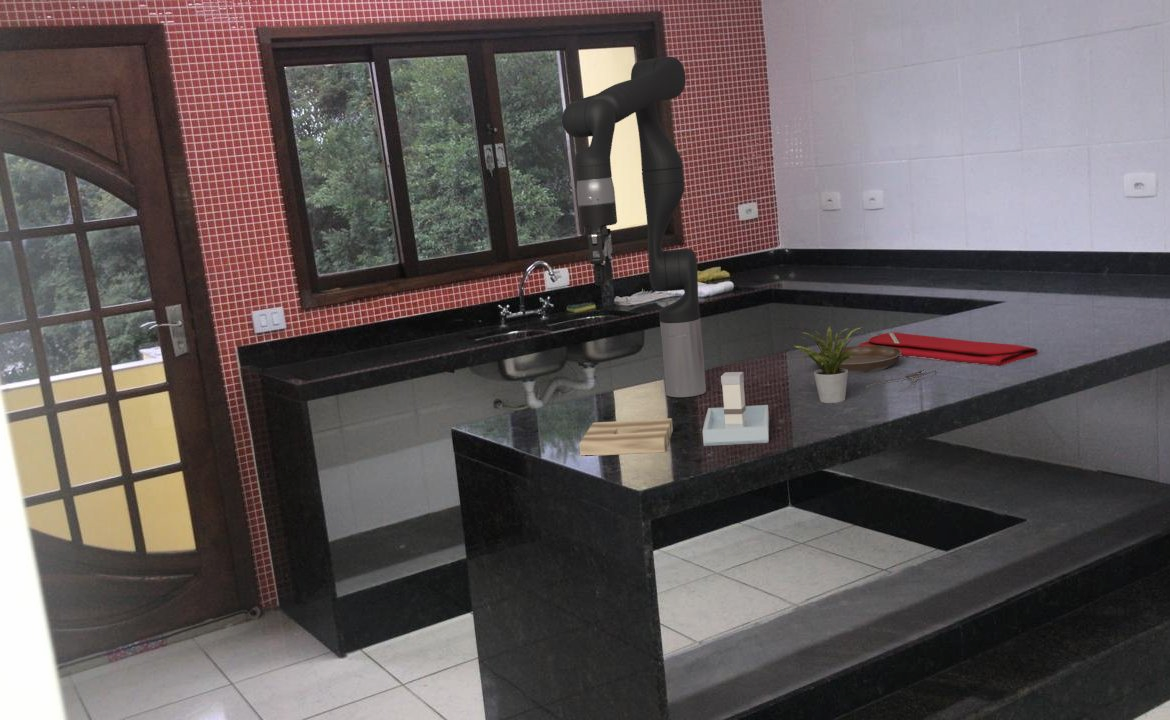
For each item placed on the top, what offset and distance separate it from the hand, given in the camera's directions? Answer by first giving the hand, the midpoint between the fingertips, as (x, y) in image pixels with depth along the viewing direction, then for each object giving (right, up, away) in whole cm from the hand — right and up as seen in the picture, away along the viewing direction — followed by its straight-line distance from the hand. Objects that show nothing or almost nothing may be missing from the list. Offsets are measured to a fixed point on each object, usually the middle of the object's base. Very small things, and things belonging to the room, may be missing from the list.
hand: (604, 282), depth 217 cm
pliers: (+67, -21, +21) cm, 73 cm away
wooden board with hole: (+5, -32, -9) cm, 33 cm away
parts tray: (+26, -30, -9) cm, 40 cm away
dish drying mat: (+85, -15, +47) cm, 98 cm away
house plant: (+49, -24, +10) cm, 56 cm away
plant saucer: (+62, -18, +42) cm, 77 cm away
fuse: (+26, -29, -9) cm, 40 cm away
